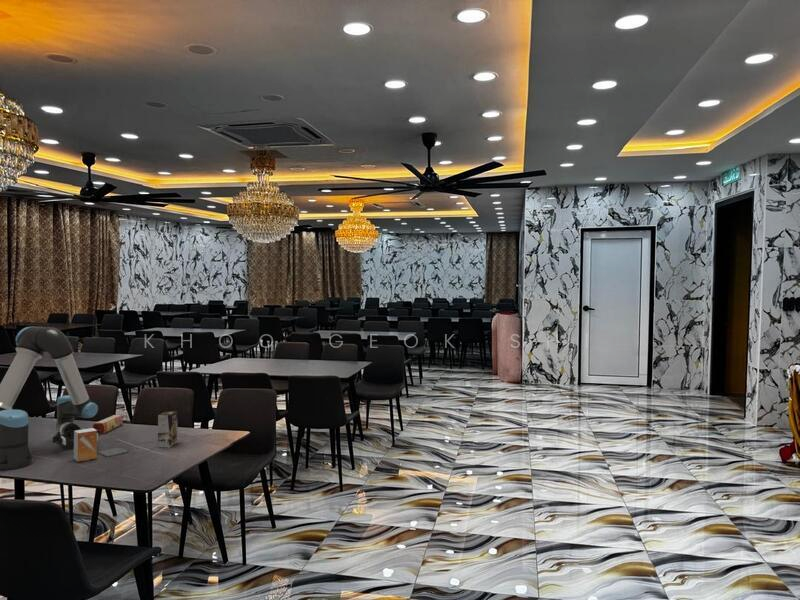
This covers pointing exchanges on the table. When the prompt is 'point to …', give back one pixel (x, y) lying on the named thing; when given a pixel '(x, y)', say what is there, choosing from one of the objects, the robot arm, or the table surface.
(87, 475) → the table surface
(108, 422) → the snack package
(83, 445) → the small box
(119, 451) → the gray slab
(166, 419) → the coffee box
